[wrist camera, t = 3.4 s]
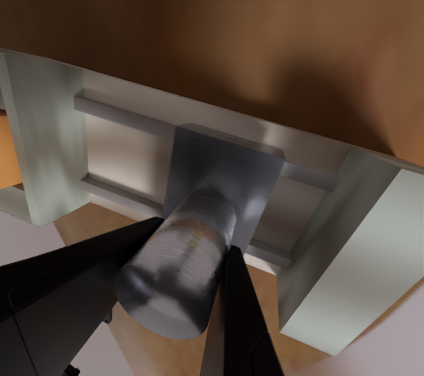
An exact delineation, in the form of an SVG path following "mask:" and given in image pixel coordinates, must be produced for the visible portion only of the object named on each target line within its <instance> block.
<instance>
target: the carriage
mask: <svg viewBox="0 0 424 376" xmlns="http://www.w3.org/2000/svg"><path fill="white" fill-rule="evenodd" d="M285 161H286V158H285V156H284V153H283V150H281V149H278V148H274V147H271V146H268V145H264V144H261V143H258V142H254V141H251V140H248V139H244V138H241V137H238V136H235V135H231V134H228V133H225V132H221V131H218V130H215V129H211V128H208V127H205V126H201V125H198V124H195V123H187V124H182V125H177V126H176V129H175V135H174V142H173V148H172V155H171V162H170V168H169V175H168V181H167V188H166V195H165V201H164V208H163V214H162V218H163V219H164V220H165V221H164V222H163V223H162V224H161V225H160V227H159V228H158V229H157V230H156V231H155V232H154V233H153V234H152V235H151V237H150V238H149V239H148V240H147V241H146V242H145V243H144V244H143V245H142V246H141V248H140V249H139V250H138V251H137V252H136V253H135V254H134V255H133V256H132V257H131V259H130V260H129V261H128V262H127V263H126V264H125V265H124V266H123V267H122V268H121V270H120V271H119V272H118V273H117V275H116V277H115V280H114V289H115V293H116V296H117V298H118V300H119V302H120V304H121V305H122V307H123V308H124V309H125V311H126V312H127V313H128V314H129V315H130V316H131V317H132V318H133V319H134V320H136V321H137V322H138V323H139V324H141V325H142V326H144V327H145V328H147V329H149V330H151V331H152V332H155V333H157V334H159V335H162V336H165V337H168V338H173V339H192V338H195V337H197V336H199V335H201V334H202V333H203V332H204V331H205V330H206V328H207V326H208V322H209V318H210V315H211V311H212V308H213V304H214V300H215V297H216V293H217V289H218V286H219V282H220V278H221V275H222V271H223V267H224V264H225V260H226V257H227V253H228V250H229V247H230V245H235V246H237V247H240V249H241V251H242V254H243V256H244V254H245V252H246V249H247V247H248V245H249V242H250V240H251V238H252V236H253V233H254V231H255V229H256V227H257V224H258V222H259V220H260V217H261V215H262V213H263V211H264V208H265V206H266V204H267V202H268V199H269V197H270V195H271V192H272V190H273V188H274V186H275V183H276V181H277V179H278V176H279V174H280V172H281V170H282V167H283V165H284V163H285Z"/></svg>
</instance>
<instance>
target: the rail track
mask: <svg viewBox="0 0 424 376" xmlns="http://www.w3.org/2000/svg"><path fill="white" fill-rule="evenodd" d="M0 109H3V110H6V113H7V117H8V121H9V126H10V130H11V134H12V139H13V143H14V147H15V152H16V156H17V160H18V165H19V169H20V173H21V177H22V183H19V184H16V185H13V186H9V187H6V188H3V189H0V210H1V211H3V212H5V213H8V214H10V215H12V216H15V217H17V218H19V219H22V220H24V221H26V222H28V223H31V224H33V225H35V226H37V227H40V228H42V227H43V226H45V225H47V224H49V223H51V222H53V221H55V220H57V219H59V218H60V217H62V216H64V215H66V214H68V213H70V212H72V211H74V210H75V209H77V208H79V207H81V206H83V205H85V204H87V203H89V202H92V203H95V204H97V205H100V206H102V207H105V208H107V209H110V210H112V211H115V212H117V213H120V214H123V215H125V216H128V217H130V218H133V219H135V220H138V221H143V220H146V219H148V218H151V217H154V216H158V217H161V218H162V214H163V208H164V201H165V195H166V188H167V181H168V175H169V168H170V162H171V155H172V148H173V142H174V135H175V129H176V126H177V125H182V124H187V123H195V124H198V125H201V126H205V127H208V128H211V129H215V130H218V131H221V132H225V133H228V134H231V135H235V136H238V137H241V138H244V139H248V140H251V141H254V142H258V143H261V144H264V145H268V146H271V147H274V148H278V149H281V150H283V153H284V156H285V158H286V161H285V163H284V165H283V167H282V170H281V172H280V174H279V176H278V179H277V181H276V183H275V186H274V188H273V190H272V192H271V195H270V197H269V199H268V202H267V204H266V206H265V208H264V211H263V213H262V215H261V217H260V220H259V222H258V224H257V227H256V229H255V231H254V233H253V236H252V238H251V240H250V242H249V245H248V247H247V249H246V252H245V254H244V256H243V257H244V260H245V263H246V264H249V265H251V266H254V267H256V268H259V269H261V270H264V271H267V272H269V273H272V274H274V275H277V293H278V311H279V329H280V333H282V334H285V335H287V336H289V337H292V338H294V339H296V340H299V341H301V342H303V343H305V344H308V345H310V346H312V347H315V348H317V349H319V350H321V351H324V352H326V353H328V354H331V355H333V356H336V355H337V354H338V353H339V352H340V351H341V350H342V349H344V348H345V347H346V346H347V345H348V344H349V343H350V342H351V341H352V340H353V339H355V338H356V337H357V336H358V335H359V334H360V333H361V332H362V331H363V330H365V329H366V328H367V327H368V326H369V325H370V324H371V323H372V322H373V321H374V320H376V319H377V318H378V317H379V316H380V315H381V314H382V313H383V312H384V311H386V310H387V309H388V308H389V307H390V306H391V305H392V304H393V303H394V302H395V301H397V300H398V299H399V298H400V297H401V296H402V295H403V294H404V293H405V292H407V291H408V290H409V289H410V288H411V287H412V286H413V285H414V284H415V283H417V282H418V281H419V280H420V279H421V278H422V277H423V276H424V167H421V166H419V165H416V164H414V163H411V162H408V161H406V160H403V159H400V158H398V157H395V156H391V155H388V154H384V153H381V152H377V151H373V150H370V149H366V148H363V147H359V146H356V145H352V144H349V143H345V142H342V141H338V140H335V139H331V138H328V137H324V136H321V135H317V134H314V133H310V132H306V131H303V130H299V129H296V128H292V127H289V126H285V125H282V124H278V123H275V122H271V121H268V120H264V119H261V118H257V117H254V116H250V115H247V114H243V113H239V112H236V111H232V110H229V109H225V108H222V107H218V106H215V105H211V104H208V103H204V102H201V101H197V100H194V99H190V98H187V97H183V96H180V95H176V94H172V93H169V92H165V91H162V90H158V89H155V88H151V87H148V86H144V85H141V84H137V83H134V82H130V81H127V80H123V79H120V78H116V77H113V76H109V75H106V74H102V73H98V72H95V71H91V70H88V69H84V68H81V67H77V66H74V65H70V64H67V63H63V62H60V61H56V60H53V59H49V58H45V57H41V56H36V55H32V54H27V53H23V52H18V51H14V50H10V49H5V48H1V47H0Z"/></svg>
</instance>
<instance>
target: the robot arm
mask: <svg viewBox="0 0 424 376" xmlns="http://www.w3.org/2000/svg"><path fill="white" fill-rule="evenodd" d="M164 221H165V220H164V219H163V218H161V217H158V216H154V217H151V218H148V219H146V220H143V221H140V222H137V223H134V224H131V225H128V226H125V227H122V228H119V229H116V230H113V231H110V232H107V233H104V234H101V235H98V236H95V237H92V238H89V239H86V240H83V241H81V242H78V243H75V244H72V245H70V246H66V247H63V248H60V249H57V250H54V251H51V252H47V253H45V254H41V255H38V256H35V257H31V258H28V259H25V260H21V261H17V262H14V263H10V264H7V265H3V266H0V376H78V375H79V373H80V370H79V369H78V368H74V367H73V366H72V365H71V364H70V362H71V361H72V360H73V358H74V357H75V356H76V354H77V353H78V352H79V351H80V349H81V348H82V347H83V345H84V344H85V343H86V341H87V340H88V339H89V338H90V336H91V335H92V334H93V332H94V331H95V330H96V328H97V327H98V326H99V324H100V323H101V322H102V321H103V322H105V323H107V324H109V323H110V322H111V321H112V308H113V306H114V305H115V304H116V302H117V301H118V298H117V296H116V293H115V289H114V280H115V277H116V275H117V273H118V272H119V271H120V270H121V268H122V267H123V266H124V265H125V264H126V263H127V262H128V261H129V260H130V259H131V257H132V256H133V255H134V254H135V253H136V252H137V251H138V250H139V249H140V248H141V246H142V245H143V244H144V243H145V242H146V241H147V240H148V239H149V238H150V237H151V235H152V234H153V233H154V232H155V231H156V230H157V229H158V228H159V227H160V225H161V224H162V223H163V222H164ZM267 332H268V328H267V325H266V322H265V319H264V316H263V313H262V310H261V308H260V305H259V302H258V299H257V296H256V293H255V290H254V287H253V284H252V281H251V278H250V275H249V272H248V269H247V266H246V263H245V260H244V257H243V254H242V251H241V249H240V247H237V246H235V245H230V247H229V250H228V253H227V257H226V260H225V264H224V267H223V271H222V275H221V278H220V282H219V286H218V289H217V293H216V297H215V300H214V304H213V308H212V311H211V315H210V321H209V326H208V332H207V338H206V343H205V349H204V354H203V360H202V366H201V371H200V376H285V375H284V373H283V370H282V368H281V365H280V362H279V360H278V357H277V354H276V351H275V349H274V346H273V343H272V340H271V337H270V334H269V333H267Z"/></svg>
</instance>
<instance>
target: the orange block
mask: <svg viewBox="0 0 424 376" xmlns="http://www.w3.org/2000/svg"><path fill="white" fill-rule="evenodd" d="M19 183H22V177H21V173H20V169H19V165H18V160H17V156H16V152H15V147H14V143H13V139H12V134H11V130H10V126H9V121H8V117H7V113H6V110H3V109H0V189H3V188H6V187H9V186H13V185H16V184H19Z"/></svg>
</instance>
